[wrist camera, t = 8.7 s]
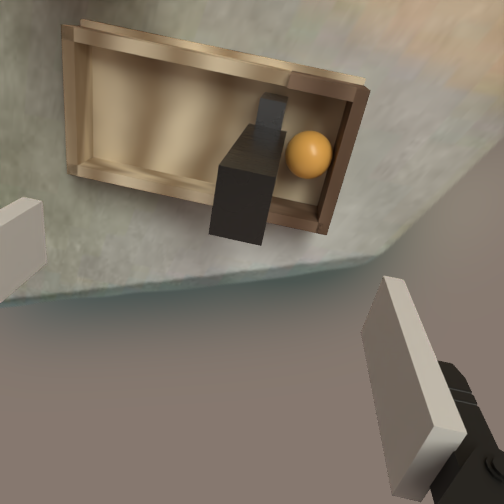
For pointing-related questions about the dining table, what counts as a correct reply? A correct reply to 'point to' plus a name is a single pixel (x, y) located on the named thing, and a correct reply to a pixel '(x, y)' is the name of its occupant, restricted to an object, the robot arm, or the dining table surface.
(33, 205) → the robot arm
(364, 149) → the dining table surface
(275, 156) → the block
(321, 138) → the ball
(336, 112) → the tray
